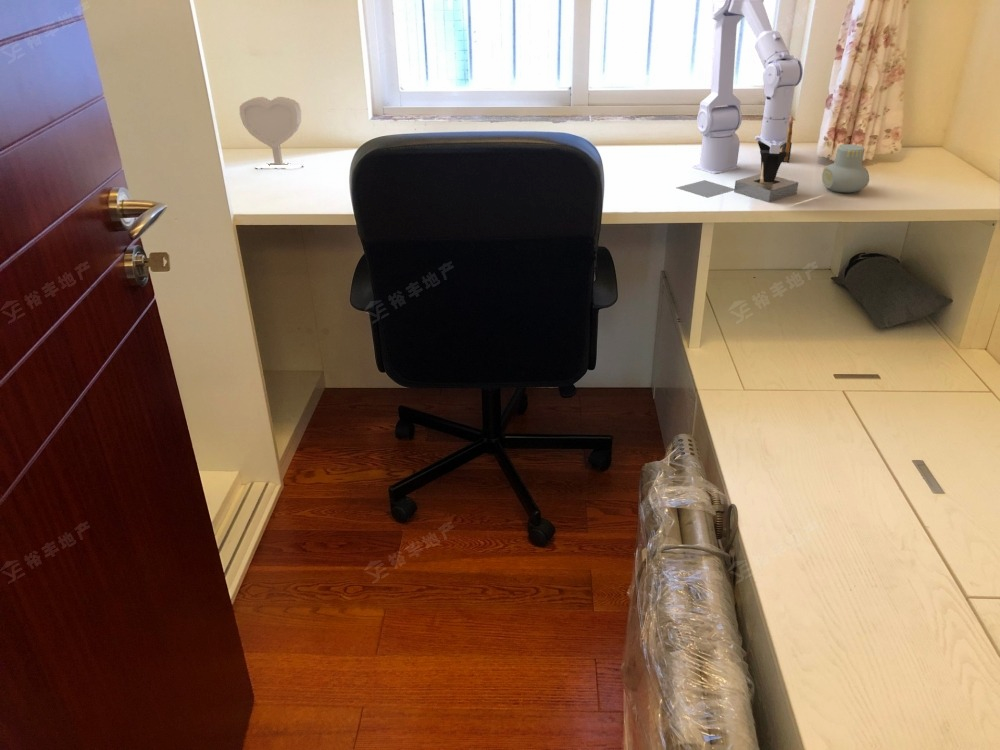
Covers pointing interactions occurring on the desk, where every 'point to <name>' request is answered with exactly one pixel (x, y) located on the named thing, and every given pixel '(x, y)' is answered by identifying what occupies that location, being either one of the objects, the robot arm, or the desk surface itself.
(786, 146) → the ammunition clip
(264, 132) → the heart sculpture
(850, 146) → the air freshener
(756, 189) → the square hole block
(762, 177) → the peg
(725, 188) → the mat
